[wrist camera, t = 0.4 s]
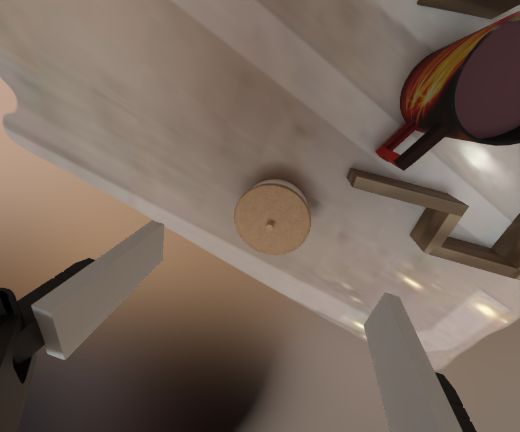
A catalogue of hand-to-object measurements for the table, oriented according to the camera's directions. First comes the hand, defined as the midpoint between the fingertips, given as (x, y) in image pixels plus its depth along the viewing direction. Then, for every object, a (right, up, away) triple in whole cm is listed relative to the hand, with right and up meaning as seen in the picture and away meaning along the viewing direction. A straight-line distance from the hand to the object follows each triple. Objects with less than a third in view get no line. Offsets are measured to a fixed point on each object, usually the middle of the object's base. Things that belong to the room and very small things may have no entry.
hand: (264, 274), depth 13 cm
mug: (+22, +17, +16) cm, 32 cm away
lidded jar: (+3, +6, +25) cm, 26 cm away
